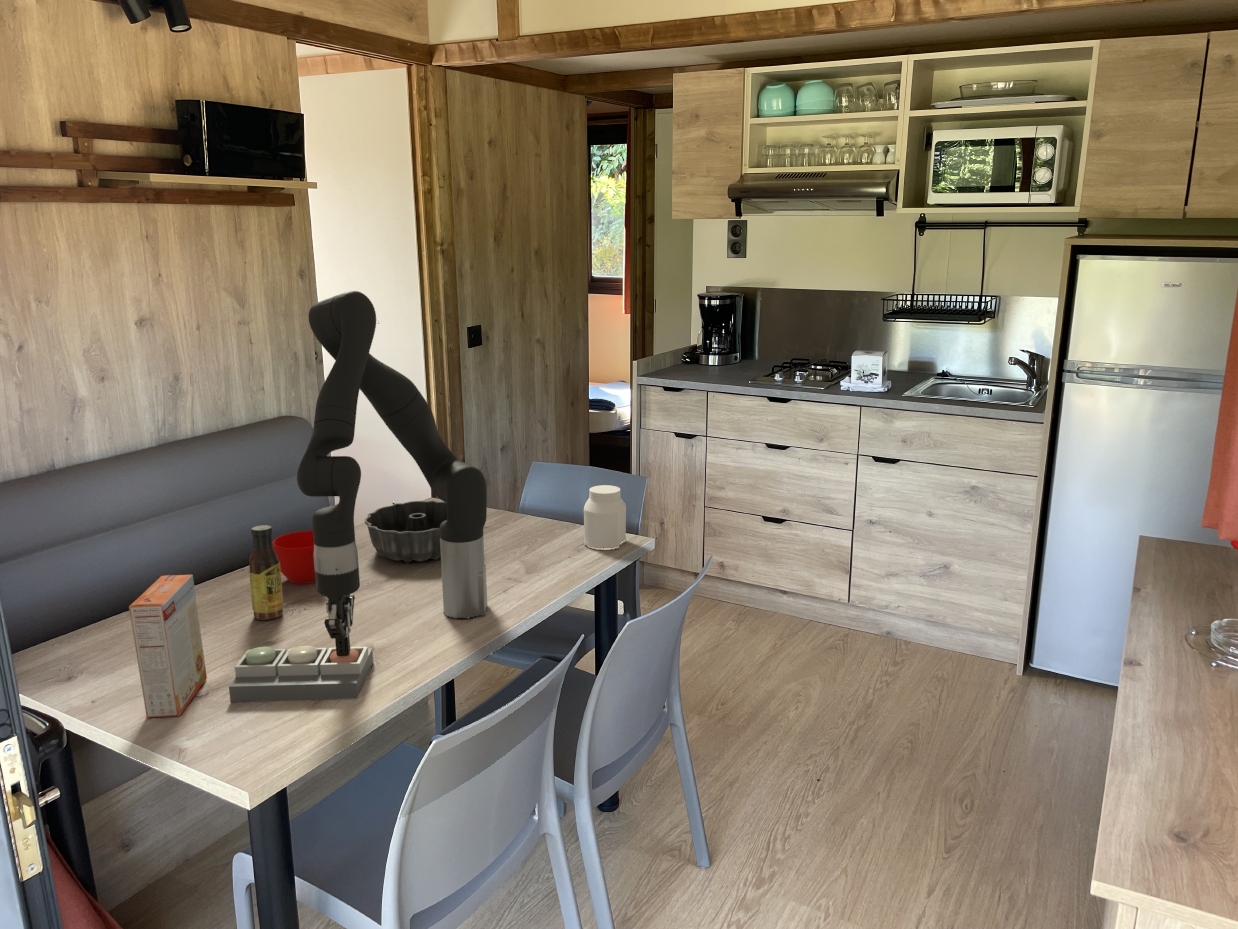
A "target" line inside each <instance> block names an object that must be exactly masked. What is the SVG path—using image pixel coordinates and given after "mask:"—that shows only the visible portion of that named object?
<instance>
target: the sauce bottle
mask: <svg viewBox="0 0 1238 929" xmlns="http://www.w3.org/2000/svg"><path fill="white" fill-rule="evenodd" d="M272 534H273V527H272V526H271V525H266V524H264V525H256V526H254V527H252V528H251V536H252V541H253V542H252V543H253V550H252V552H251V554H250V556H249V559H248V563H249V572H248V574H249V584H250V594H251V596H250V597H251V605H252V611H253V616H254V619H256V620H259V621H269V620H274V619H277V618H280V617H282V615H283V613H284V597H283V596H284V595H283V585H282V584H283V582H282V572H281V569H280V561H279V559H278V557H277V555H276V553H275V550H274V548H273V536H272Z"/></svg>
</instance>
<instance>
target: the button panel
mask: <svg viewBox="0 0 1238 929" xmlns="http://www.w3.org/2000/svg"><path fill="white" fill-rule="evenodd" d="M368 647H369V646H350V648H352V649H356V650H357V651H358V654H359V659H358V661H357V662H348V663H331V662H330V654H331V653H332V652H334V651H336V646H334V647H329V648H328V647H315V648H316V649H317V659H316V660H315V661H314V662H312V663H309V664H290V663H289V661H288V652H289V651H290V650H291V649H292V648H288V650H287V648H274V649H275V656H276V659H275V661H274V662H272V663H270V664H268V665H248V664H247V663H246V653H247V652H248V651H250V650H251V649H247V650H246V652H245V653H244V654H243V656H242V657H241V658H240V659H239V661H238V662H237V663H236V665H235V666H234V674H235V677H234V679H233V680H232V682H231V683H230V684H229V685H228V692H229V698H230V703H243V702H244V703H245V702H246V703H247V702H248V703H249V702H278V701H279V702H281V701H310V700H311V701H315V700H316V701H317V700H346V699H347V700H348V699H349V700H351V699H352V700H354V699H356V700H357V699H358V698H359V695H360V693H361V691H362V689H363V687H364V685H365V682H366V679H367V678H368V675H369V673H370V671H371V669H372V667H373V664H374V654H373V647H372V648H370V647H369V648H368ZM371 666H372V667H371Z"/></svg>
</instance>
